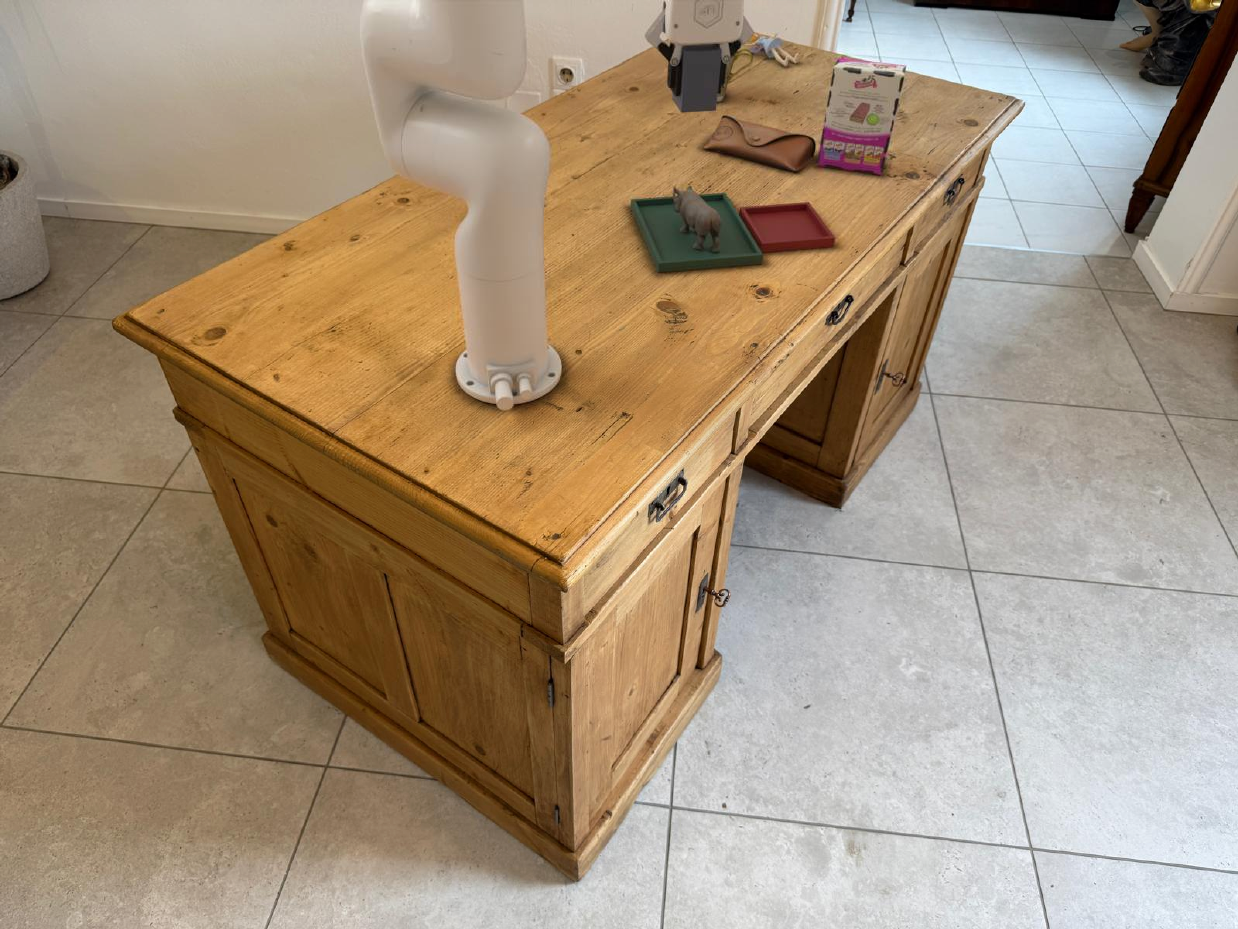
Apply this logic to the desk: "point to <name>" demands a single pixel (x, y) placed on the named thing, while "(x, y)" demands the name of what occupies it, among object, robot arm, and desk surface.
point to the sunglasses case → (762, 144)
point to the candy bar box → (860, 115)
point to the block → (699, 78)
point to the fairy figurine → (772, 48)
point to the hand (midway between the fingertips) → (695, 89)
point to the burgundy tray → (786, 227)
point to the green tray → (693, 236)
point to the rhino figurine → (697, 217)
